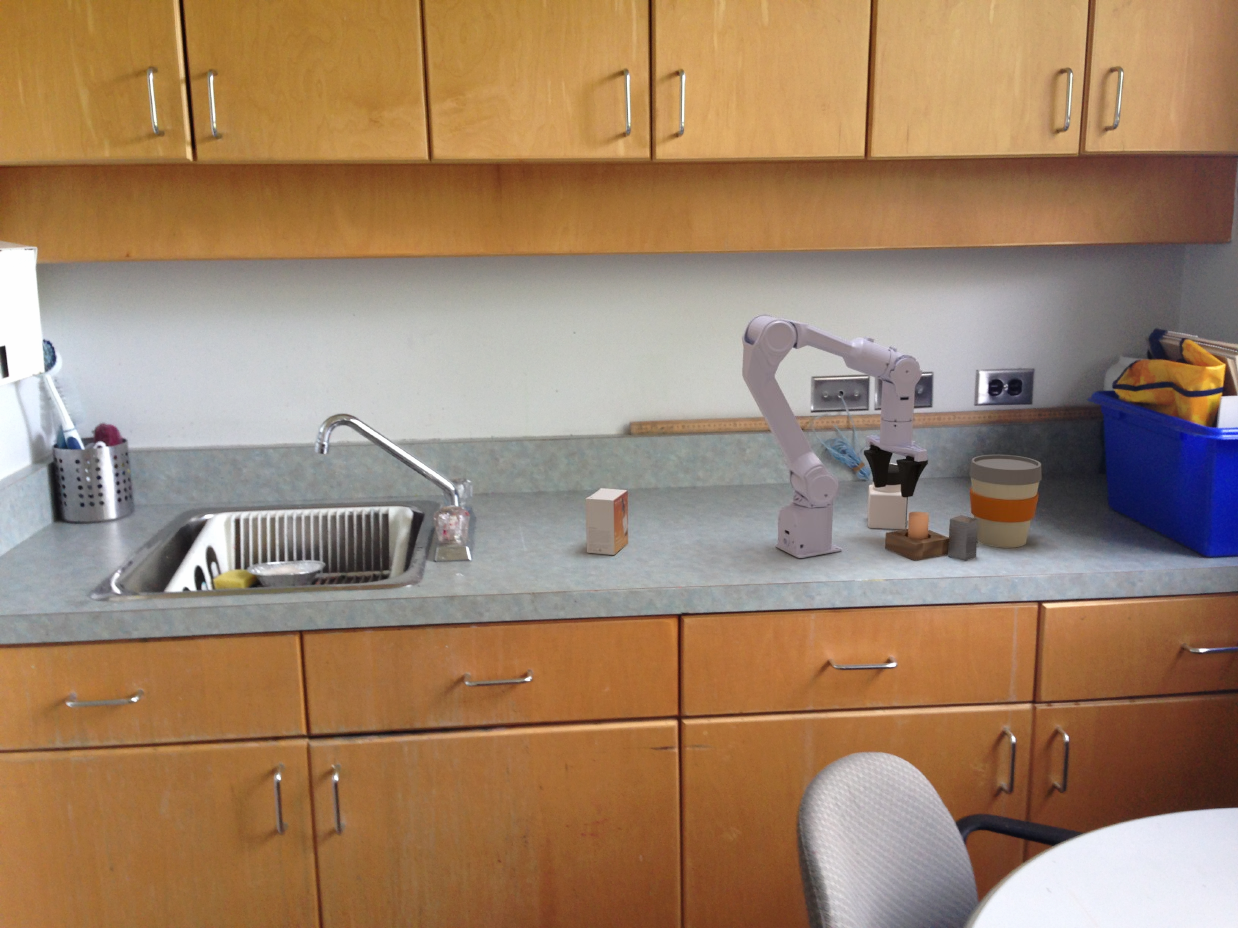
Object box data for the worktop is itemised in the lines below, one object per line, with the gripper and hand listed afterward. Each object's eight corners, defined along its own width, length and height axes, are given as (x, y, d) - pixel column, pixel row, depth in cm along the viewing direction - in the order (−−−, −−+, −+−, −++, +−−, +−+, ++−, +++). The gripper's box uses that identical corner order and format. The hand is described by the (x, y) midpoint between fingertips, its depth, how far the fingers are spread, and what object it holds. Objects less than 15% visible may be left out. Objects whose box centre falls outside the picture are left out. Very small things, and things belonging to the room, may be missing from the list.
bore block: (914, 560, 183) (915, 544, 182) (885, 548, 190) (885, 532, 189) (949, 554, 186) (950, 538, 185) (919, 541, 193) (920, 526, 192)
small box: (614, 556, 188) (613, 500, 186) (586, 553, 190) (584, 498, 188) (629, 543, 195) (628, 489, 193) (601, 540, 197) (600, 487, 195)
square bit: (965, 561, 182) (967, 523, 181) (947, 556, 185) (949, 518, 183) (976, 556, 184) (978, 519, 183) (958, 552, 187) (961, 515, 185)
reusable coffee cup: (997, 554, 186) (1002, 473, 182) (950, 535, 197) (955, 458, 193) (1051, 545, 190) (1058, 465, 186) (1003, 526, 201) (1008, 451, 198)
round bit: (916, 555, 186) (918, 518, 184) (902, 550, 189) (904, 513, 187) (931, 552, 187) (933, 515, 185) (917, 547, 190) (919, 510, 188)
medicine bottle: (906, 530, 200) (909, 470, 198) (868, 528, 202) (870, 469, 199) (903, 519, 207) (906, 461, 204) (867, 518, 209) (869, 460, 206)
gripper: (942, 423, 182) (937, 498, 186) (888, 410, 195) (885, 480, 198) (910, 427, 180) (906, 503, 183) (858, 414, 192) (855, 484, 196)
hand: (893, 491), depth 190 cm, fingers open, 7 cm apart
